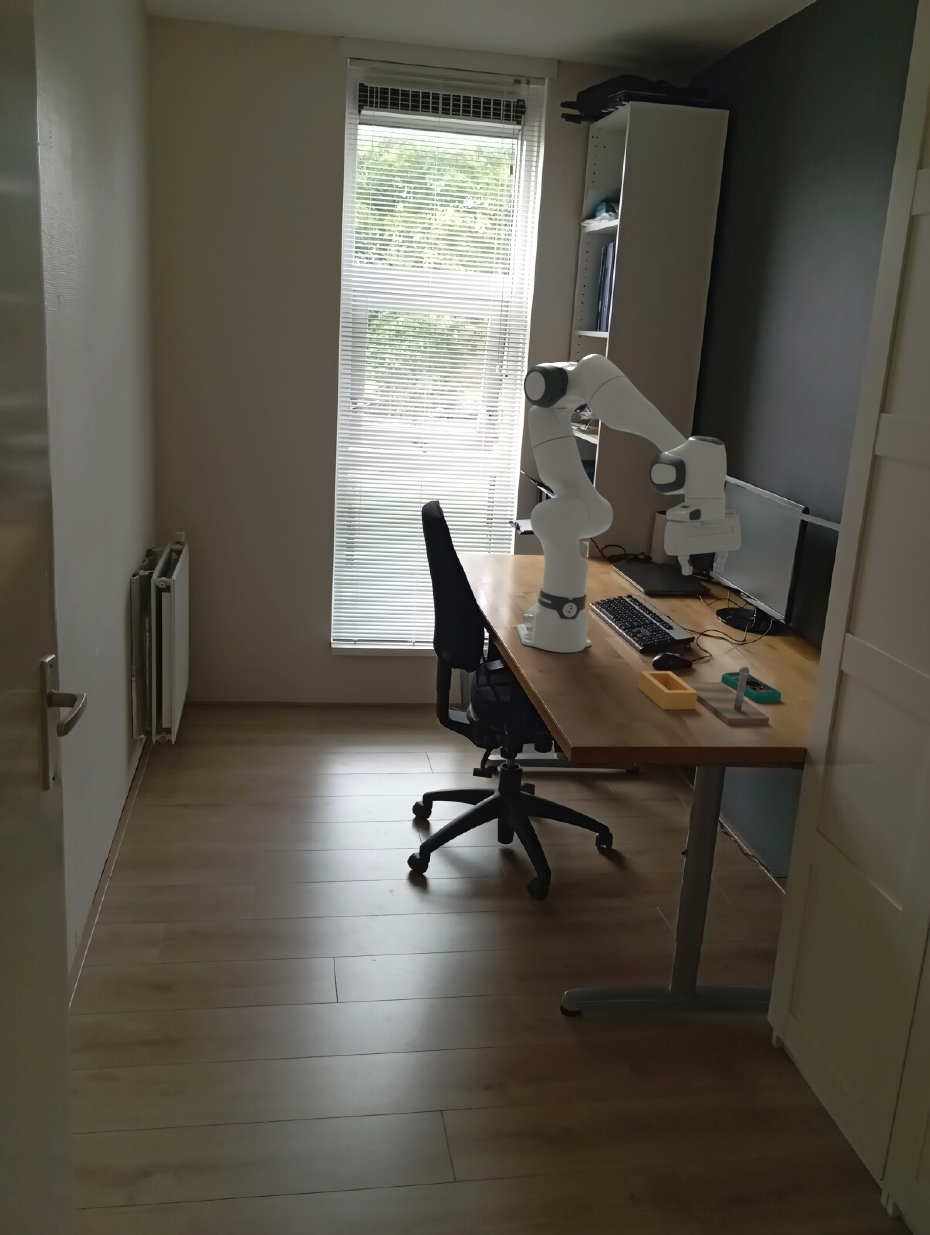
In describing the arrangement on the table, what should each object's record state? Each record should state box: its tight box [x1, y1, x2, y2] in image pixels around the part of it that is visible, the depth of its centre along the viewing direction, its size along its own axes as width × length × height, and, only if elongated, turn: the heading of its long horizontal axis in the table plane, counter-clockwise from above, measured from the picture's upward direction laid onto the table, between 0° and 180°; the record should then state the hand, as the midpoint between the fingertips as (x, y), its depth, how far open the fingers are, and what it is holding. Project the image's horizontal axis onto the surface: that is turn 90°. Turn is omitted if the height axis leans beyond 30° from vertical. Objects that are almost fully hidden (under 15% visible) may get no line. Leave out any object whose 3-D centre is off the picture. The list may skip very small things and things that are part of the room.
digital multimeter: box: [720, 671, 782, 704], centre depth 243 cm, size 7×15×3 cm, turn 21°
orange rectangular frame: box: [637, 670, 698, 711], centre depth 233 cm, size 14×8×4 cm, turn 15°
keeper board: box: [684, 665, 770, 726], centre depth 230 cm, size 22×10×12 cm, turn 15°
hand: (702, 572), depth 227 cm, fingers open, 8 cm apart
